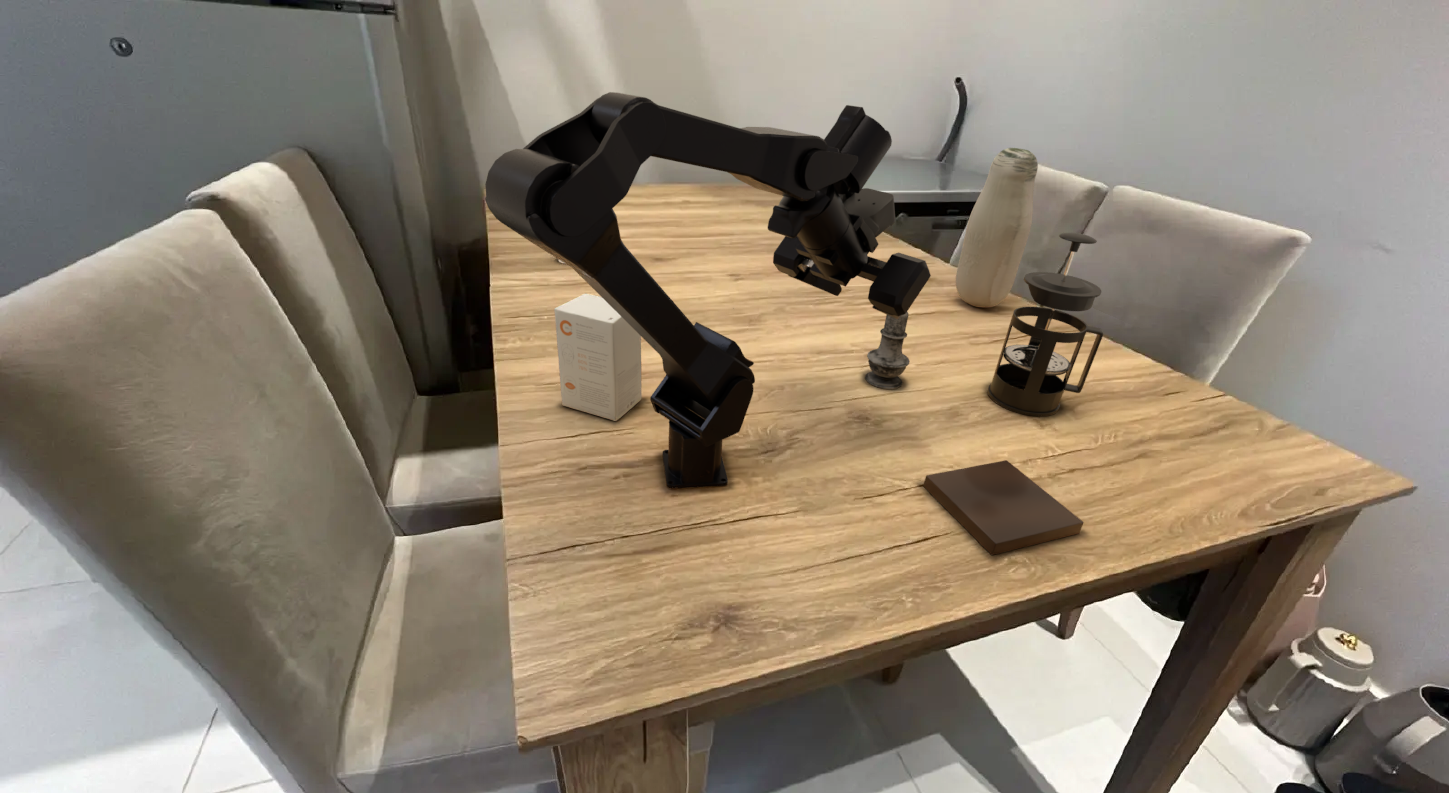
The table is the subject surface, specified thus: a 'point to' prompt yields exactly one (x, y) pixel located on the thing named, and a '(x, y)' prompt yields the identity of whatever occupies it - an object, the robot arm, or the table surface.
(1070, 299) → the french press
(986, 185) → the cream bottle
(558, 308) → the small box
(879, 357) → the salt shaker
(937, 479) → the walnut board
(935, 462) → the table surface
